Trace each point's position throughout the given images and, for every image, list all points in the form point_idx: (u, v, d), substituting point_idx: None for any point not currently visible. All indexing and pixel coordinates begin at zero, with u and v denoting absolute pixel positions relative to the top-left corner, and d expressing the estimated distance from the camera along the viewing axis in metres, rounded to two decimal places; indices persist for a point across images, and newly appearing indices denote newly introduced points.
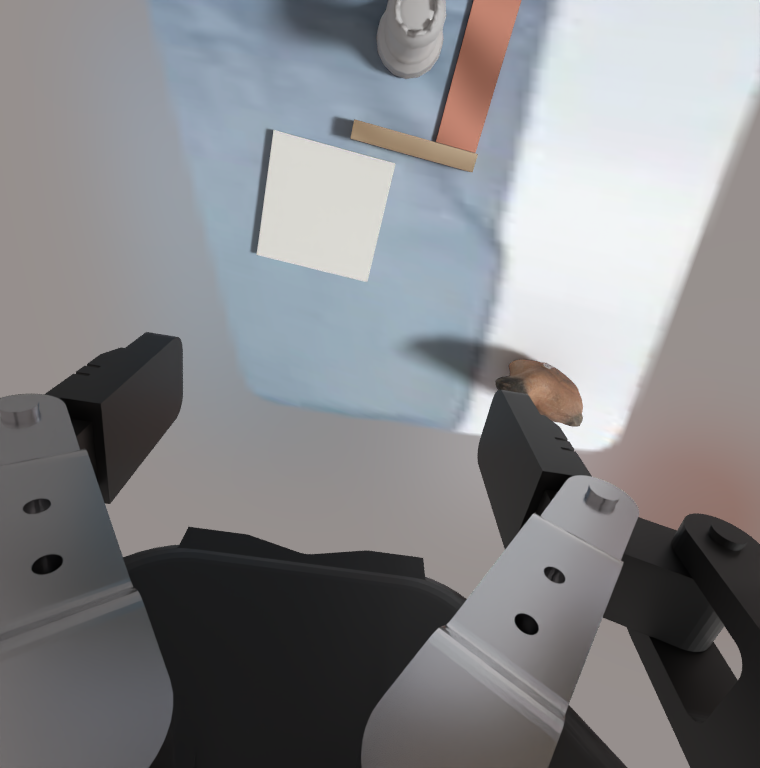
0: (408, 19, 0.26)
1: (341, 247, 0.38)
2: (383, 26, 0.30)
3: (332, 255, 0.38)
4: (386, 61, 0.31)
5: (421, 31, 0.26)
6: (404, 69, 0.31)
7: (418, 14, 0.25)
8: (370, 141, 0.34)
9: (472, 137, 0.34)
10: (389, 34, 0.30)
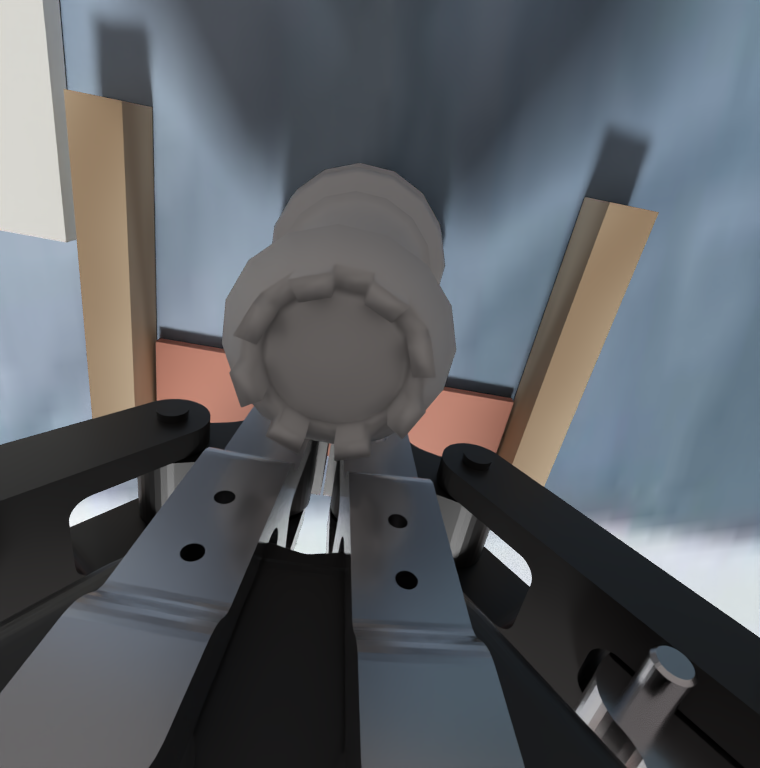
0: (294, 333, 0.06)
1: None
2: (368, 186, 0.10)
3: None
4: (291, 200, 0.11)
5: (252, 397, 0.06)
6: None
7: (318, 372, 0.06)
8: (76, 160, 0.11)
9: None
10: (338, 211, 0.10)
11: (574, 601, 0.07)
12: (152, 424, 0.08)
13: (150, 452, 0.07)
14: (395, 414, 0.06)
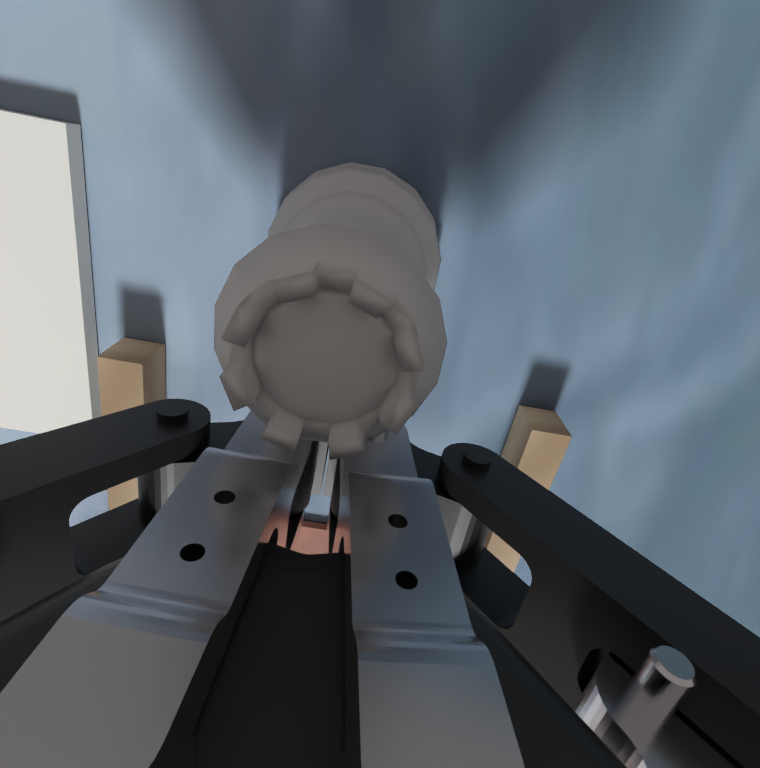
0: (282, 334, 0.06)
1: None
2: (358, 184, 0.10)
3: None
4: (283, 203, 0.11)
5: (244, 400, 0.06)
6: None
7: (308, 371, 0.06)
8: (105, 402, 0.13)
9: None
10: (328, 212, 0.10)
11: (574, 601, 0.07)
12: (152, 424, 0.08)
13: (150, 452, 0.07)
14: (387, 410, 0.06)
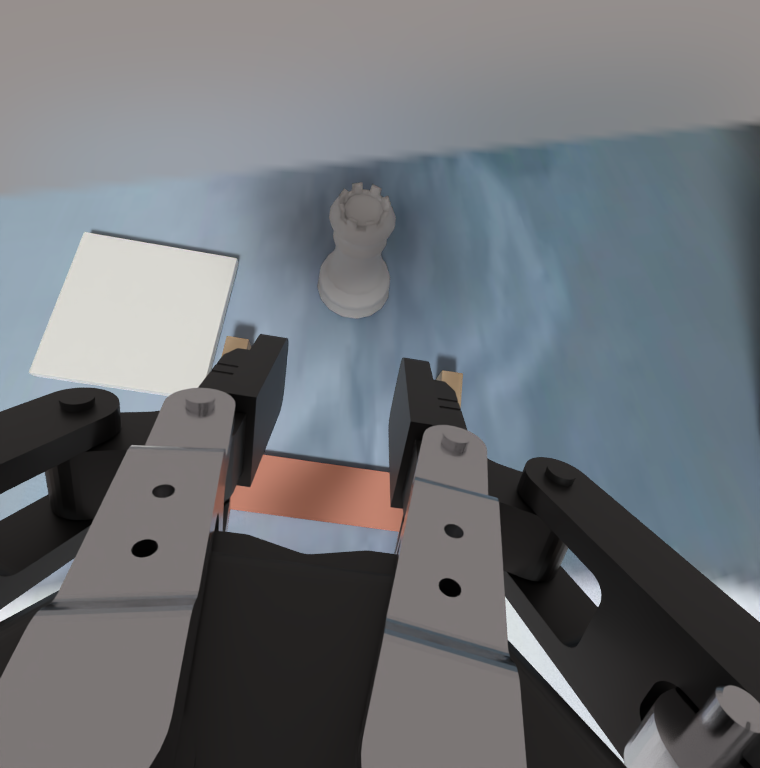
0: (352, 201, 0.23)
1: (86, 335, 0.26)
2: None
3: (75, 323, 0.26)
4: (328, 255, 0.29)
5: (343, 210, 0.22)
6: (322, 271, 0.28)
7: (359, 210, 0.23)
8: None
9: (236, 499, 0.25)
10: None
11: (643, 627, 0.06)
12: (57, 414, 0.07)
13: (62, 441, 0.07)
14: (382, 213, 0.22)
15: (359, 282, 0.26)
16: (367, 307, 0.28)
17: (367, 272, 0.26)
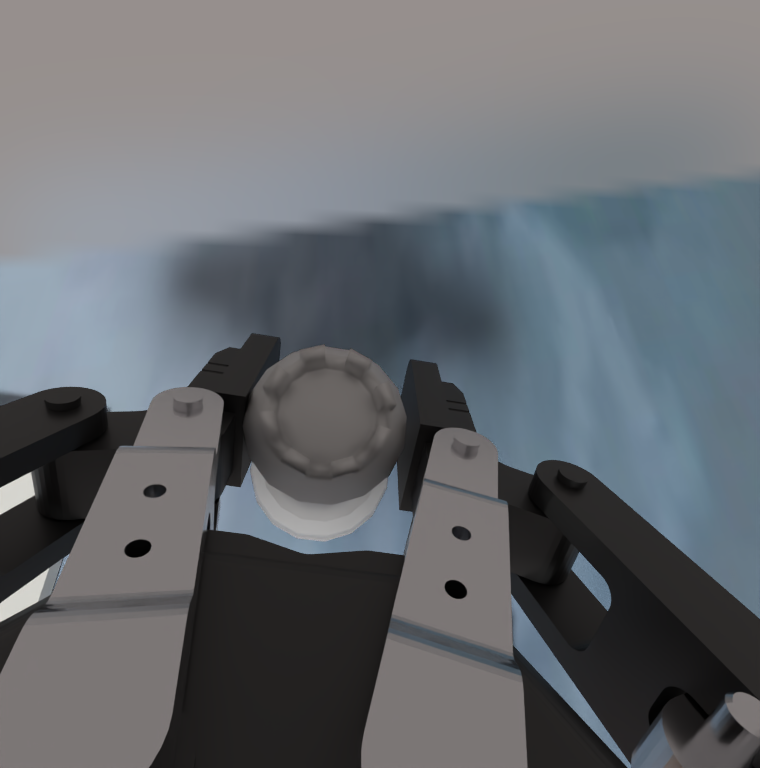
0: (300, 393, 0.09)
1: None
2: None
3: None
4: None
5: (272, 429, 0.08)
6: None
7: (316, 418, 0.09)
8: None
9: None
10: None
11: (653, 632, 0.06)
12: (44, 414, 0.07)
13: (49, 441, 0.07)
14: (373, 434, 0.09)
15: (326, 506, 0.13)
16: (344, 531, 0.14)
17: None
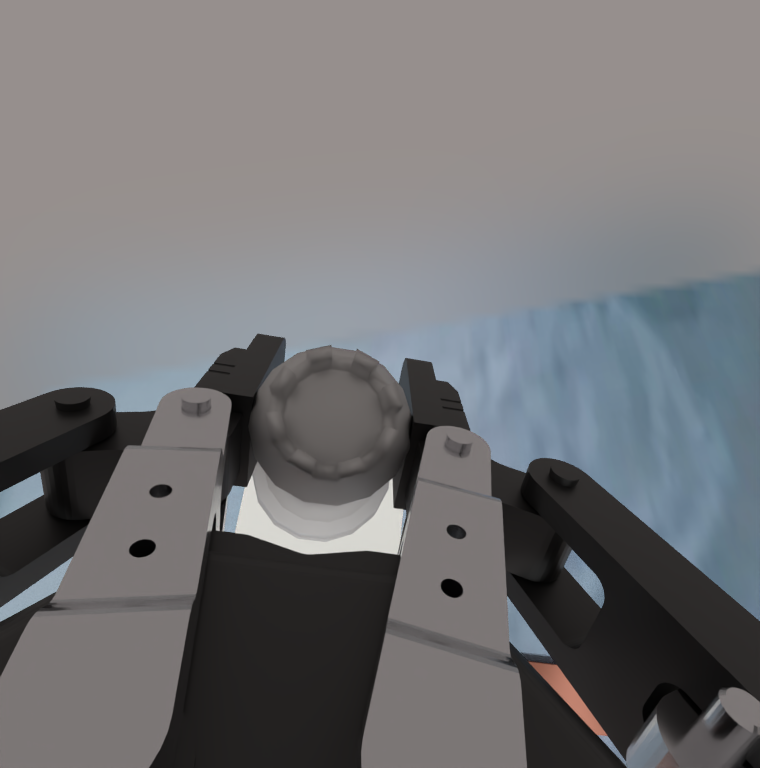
0: (306, 393, 0.09)
1: (277, 527, 0.26)
2: None
3: (265, 515, 0.26)
4: None
5: (279, 430, 0.08)
6: (258, 462, 0.14)
7: (322, 419, 0.09)
8: None
9: None
10: None
11: (646, 628, 0.06)
12: (53, 414, 0.07)
13: (57, 442, 0.07)
14: (380, 435, 0.09)
15: (329, 507, 0.13)
16: (346, 532, 0.14)
17: None
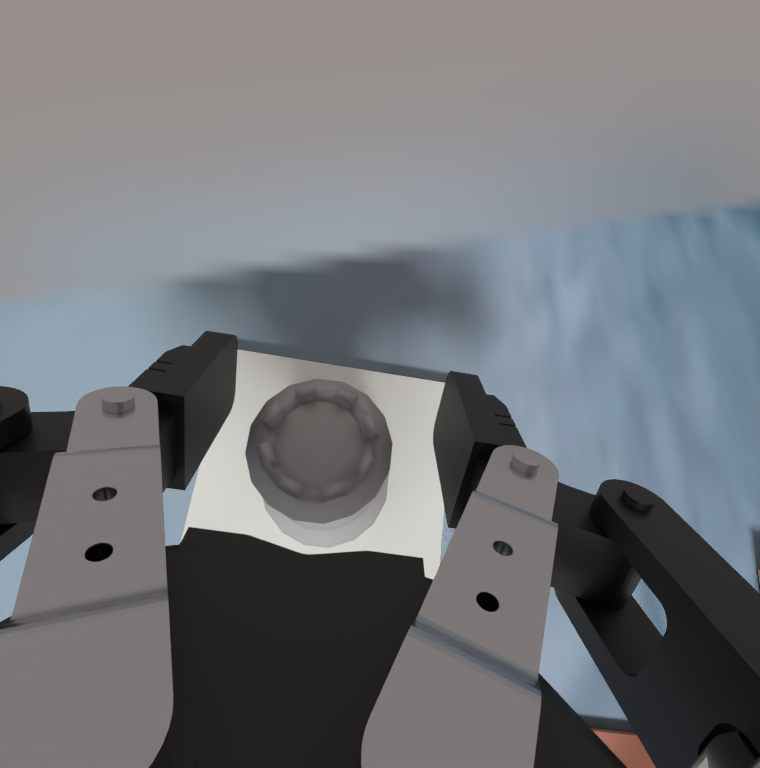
0: (294, 424, 0.10)
1: (250, 524, 0.17)
2: None
3: (231, 505, 0.17)
4: None
5: (269, 459, 0.10)
6: None
7: (308, 447, 0.10)
8: None
9: None
10: None
11: (709, 663, 0.06)
12: None
13: None
14: (359, 462, 0.10)
15: None
16: (346, 539, 0.15)
17: None
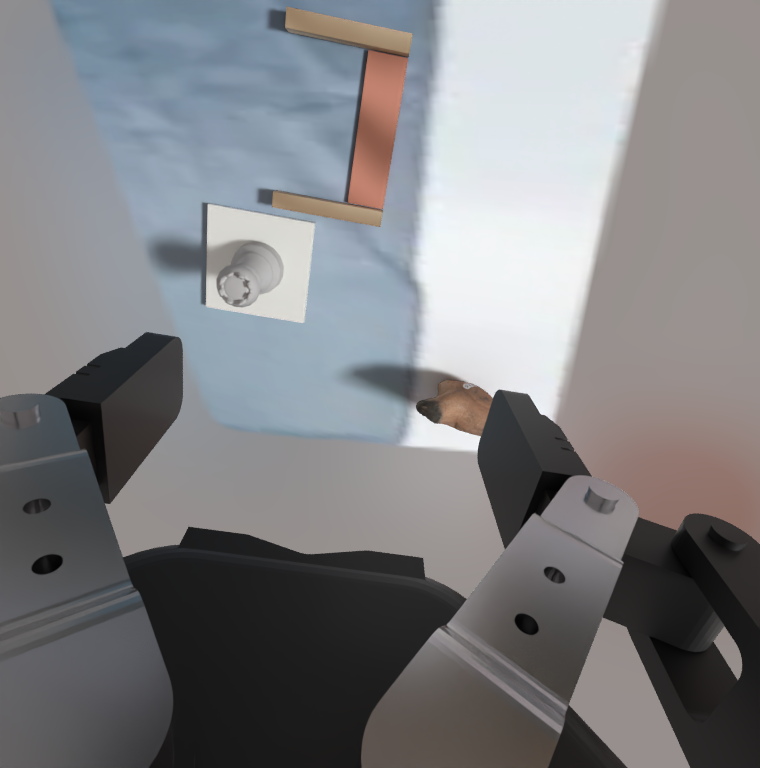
0: (231, 295, 0.35)
1: (277, 295, 0.43)
2: None
3: (270, 303, 0.43)
4: None
5: (241, 302, 0.35)
6: None
7: (237, 291, 0.35)
8: (288, 208, 0.39)
9: (378, 196, 0.40)
10: None
11: None
12: None
13: None
14: (239, 278, 0.34)
15: (267, 273, 0.39)
16: (278, 261, 0.40)
17: (262, 270, 0.38)
